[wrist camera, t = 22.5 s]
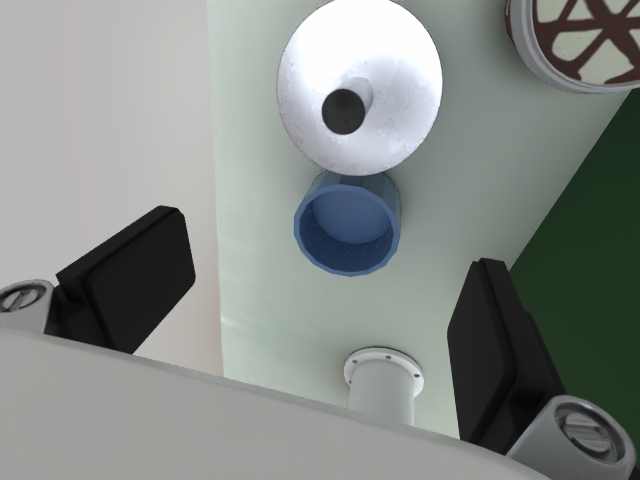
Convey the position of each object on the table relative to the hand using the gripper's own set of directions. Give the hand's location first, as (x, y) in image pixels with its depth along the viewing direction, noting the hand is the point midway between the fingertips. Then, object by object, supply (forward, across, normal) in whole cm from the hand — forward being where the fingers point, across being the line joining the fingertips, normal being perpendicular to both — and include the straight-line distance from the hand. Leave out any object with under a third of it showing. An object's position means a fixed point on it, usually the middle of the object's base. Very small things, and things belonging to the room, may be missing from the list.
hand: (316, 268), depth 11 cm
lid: (+17, +1, -3) cm, 18 cm away
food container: (+26, -13, -7) cm, 30 cm away
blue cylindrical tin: (+27, +2, +11) cm, 29 cm away
